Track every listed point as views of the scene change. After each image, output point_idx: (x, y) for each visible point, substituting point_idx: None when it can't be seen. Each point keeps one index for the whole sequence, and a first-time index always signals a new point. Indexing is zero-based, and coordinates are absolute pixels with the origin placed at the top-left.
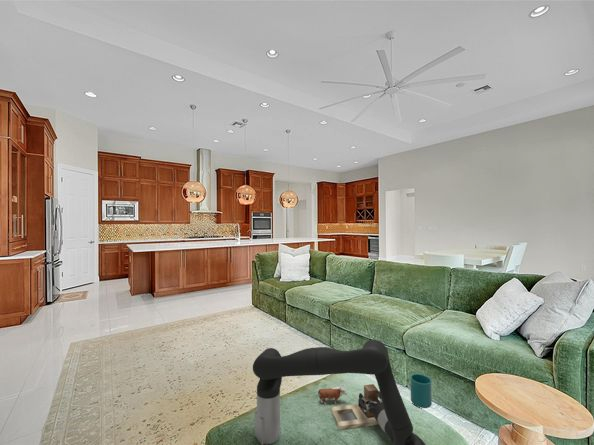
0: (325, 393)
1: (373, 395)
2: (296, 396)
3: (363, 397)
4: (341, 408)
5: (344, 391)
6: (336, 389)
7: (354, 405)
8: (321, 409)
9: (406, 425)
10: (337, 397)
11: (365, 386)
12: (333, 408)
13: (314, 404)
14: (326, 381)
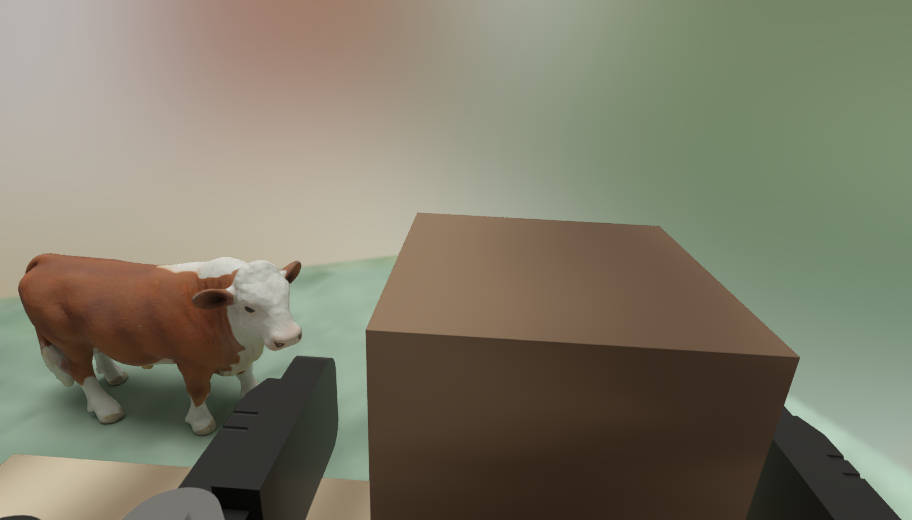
0: (61, 300)
1: (563, 497)
2: (20, 305)
3: (239, 481)
4: (108, 502)
5: (259, 311)
6: (192, 280)
7: (322, 494)
8: (5, 444)
9: None
10: (194, 361)
11: (422, 230)
12: (16, 478)
13: (32, 383)
14: (346, 263)
